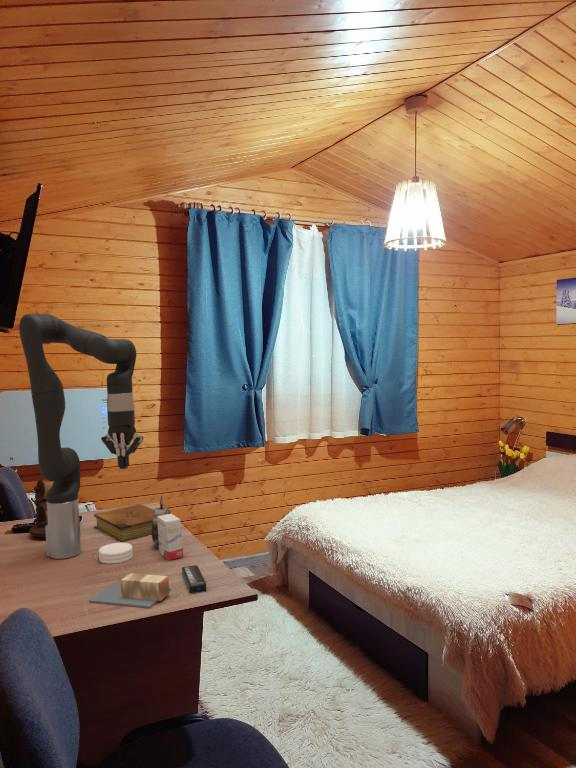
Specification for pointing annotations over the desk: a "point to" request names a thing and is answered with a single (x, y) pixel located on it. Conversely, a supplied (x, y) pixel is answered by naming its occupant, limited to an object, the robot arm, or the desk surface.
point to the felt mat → (120, 598)
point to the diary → (126, 522)
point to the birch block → (145, 586)
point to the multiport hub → (193, 579)
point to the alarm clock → (157, 512)
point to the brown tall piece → (41, 509)
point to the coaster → (115, 553)
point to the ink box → (170, 536)
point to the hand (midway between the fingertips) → (123, 468)
